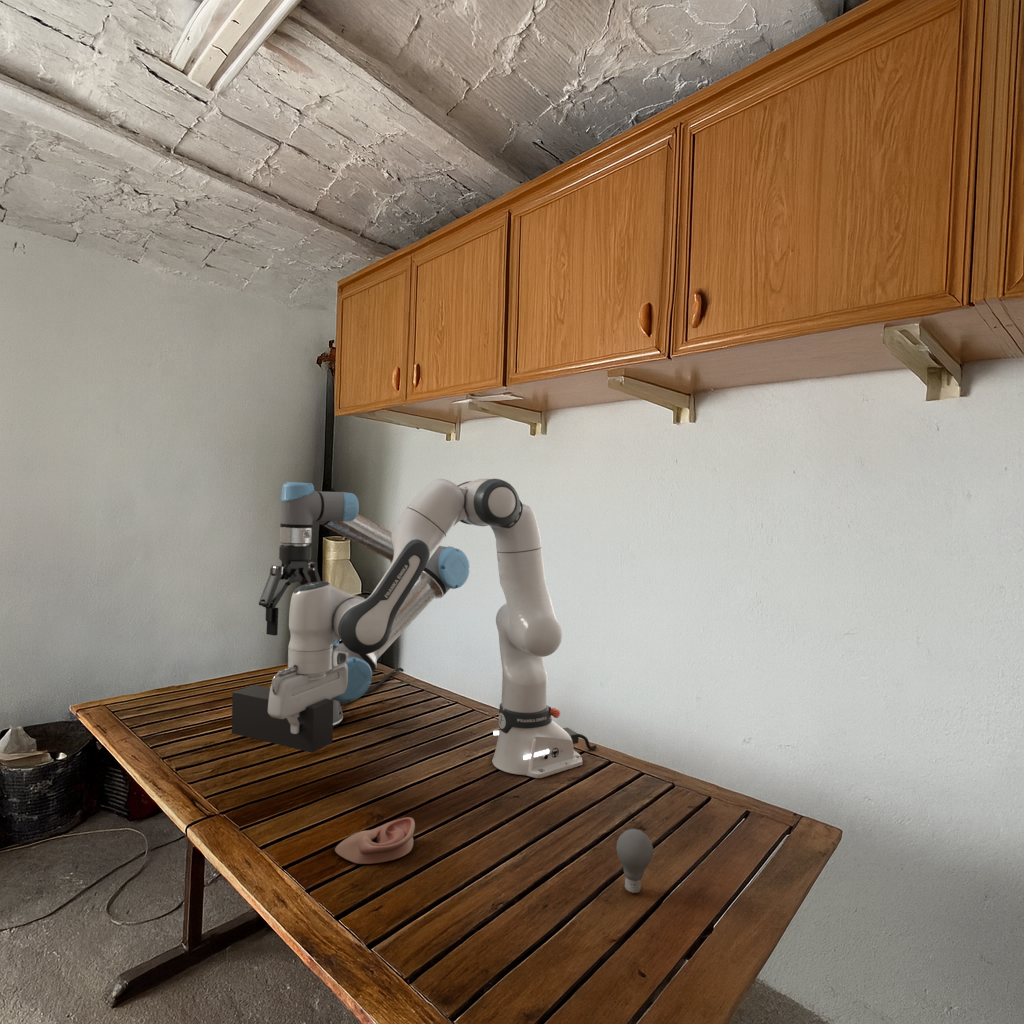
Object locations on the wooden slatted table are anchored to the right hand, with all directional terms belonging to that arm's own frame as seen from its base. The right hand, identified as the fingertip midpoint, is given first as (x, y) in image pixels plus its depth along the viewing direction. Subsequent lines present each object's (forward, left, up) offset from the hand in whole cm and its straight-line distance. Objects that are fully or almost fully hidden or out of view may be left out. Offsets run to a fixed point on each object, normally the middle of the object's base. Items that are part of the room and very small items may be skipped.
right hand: (309, 726), depth 132 cm
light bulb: (-44, +52, -16) cm, 70 cm away
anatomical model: (-8, +23, -16) cm, 29 cm away
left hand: (0, -29, +14) cm, 32 cm away
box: (+5, -6, -4) cm, 8 cm away
